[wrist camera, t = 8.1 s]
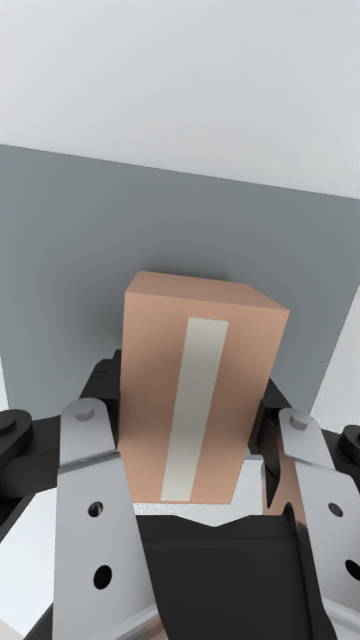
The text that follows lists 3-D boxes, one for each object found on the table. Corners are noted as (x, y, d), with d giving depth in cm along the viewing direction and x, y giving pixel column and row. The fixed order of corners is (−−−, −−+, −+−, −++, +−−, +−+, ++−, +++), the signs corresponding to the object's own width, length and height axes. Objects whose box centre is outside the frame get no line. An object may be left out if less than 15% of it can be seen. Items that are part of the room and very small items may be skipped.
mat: (289, 456, 18) (291, 460, 18) (19, 449, 16) (16, 454, 16) (382, 205, 12) (389, 204, 12) (-28, 142, 10) (-35, 139, 10)
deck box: (246, 283, 11) (292, 312, 7) (212, 431, 14) (231, 509, 10) (138, 270, 10) (123, 293, 6) (127, 427, 13) (112, 507, 10)
